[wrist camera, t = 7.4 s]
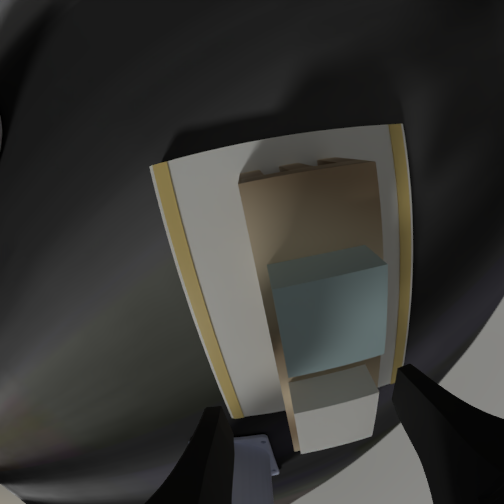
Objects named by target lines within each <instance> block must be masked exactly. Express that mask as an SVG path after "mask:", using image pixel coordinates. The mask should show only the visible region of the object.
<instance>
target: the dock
mask: <svg viewBox="0 0 504 504" xmlns="http://www.w3.org/2000/svg"><path fill="white" fill-rule="evenodd" d="M333 157H338V158H349V159H358V160H367V161H375V162H376V168H377V176H378V185H379V195H380V206H381V219H382V235H383V261H384V262H386V263H387V264H388V298H387V324H386V339H385V352H384V354H382V355H381V359H380V369H379V379H378V387H381V386H384V385H387V384H393V383H395V380H396V374H397V368H399V367H402V366H403V365H404V359H405V352H406V345H407V337H408V329H409V319H410V308H411V294H412V274H413V218H412V198H411V185H410V174H409V164H408V156H407V148H406V141H405V134H404V128H403V124H388V125H372V126H359V127H349V128H339V129H330V130H321V131H314V132H306V133H299V134H293V135H286V136H280V137H274V138H268V139H263V140H257V141H252V142H247V143H242V144H237V145H232V146H227V147H223V148H218V149H214V150H209V151H205V152H201V153H197V154H193V155H189V156H185V157H181V158H177V159H174V160H170V161H166V162H163V163H159V164H156V165H152V166H149V167H150V171H151V176H152V180H153V184H154V188H155V192H156V196H157V200H158V204H159V208H160V211H161V215H162V219H163V223H164V226H165V230H166V233H167V237H168V240H169V244H170V247H171V251H172V254H173V257H174V261H175V264H176V267H177V271H178V274H179V277H180V280H181V283H182V286H183V290H184V293H185V296H186V299H187V302H188V305H189V308H190V311H191V314H192V316H193V319H194V322H195V325H196V328H197V331H198V334H199V336H200V339H201V342H202V345H203V347H204V350H205V353H206V355H207V358H208V361H209V363H210V366H211V368H212V371H213V374H214V376H215V379H216V381H217V384H218V386H219V389H220V391H221V394H222V396H223V398H224V401H225V403H226V406H227V408H228V410H229V413H230V415H231V417H232V418H234V419H237V418H244V417H246V416H253V415H260V414H267V413H273V412H279V411H285V410H286V409H285V404H284V399H283V395H282V390H281V385H280V381H279V376H278V371H277V366H276V362H275V357H274V352H273V347H272V343H271V338H270V333H269V328H268V324H267V319H266V314H265V310H264V305H263V300H262V295H261V291H260V286H259V281H258V277H257V272H256V267H255V262H254V258H253V253H252V248H251V243H250V239H249V234H248V229H247V225H246V220H245V215H244V210H243V206H242V201H241V196H240V192H239V187H238V181H239V175H240V173H245V172H250V171H255V170H260V171H261V172H262V173H263V174H264V175H266V174H272V173H277V172H280V170H279V166H282V165H288V164H294V163H302V164H306V165H311V166H318V164H317V160H319V159H326V158H333ZM378 387H377V388H378Z"/></svg>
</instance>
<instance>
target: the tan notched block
mask: <svg viewBox="0 0 504 504" xmlns="http://www.w3.org/2000/svg"><path fill="white" fill-rule="evenodd" d="M317 164H318V166H311V165H306V164H302V163H294V164H288V165H282V166H279V170H280V172H277V173H272V174H266V175H264V174H263V173H262V172H261V171H260V170H255V171H250V172H245V173H240V175H239V181H238V187H239V192H240V196H241V201H242V206H243V210H244V215H245V220H246V225H247V229H248V234H249V239H250V243H251V248H252V253H253V258H254V262H255V267H256V272H257V277H258V281H259V286H260V291H261V295H262V300H263V305H264V310H265V314H266V319H267V324H268V328H269V333H270V338H271V343H272V347H273V352H274V357H275V362H276V366H277V371H278V376H279V381H280V385H281V390H282V395H283V399H284V404H285V409H286V414H287V418H288V423H289V428H290V433H291V437H292V442H293V447H294V452H295V451H300V445H299V440H298V434H297V428H296V423H295V417H294V412H293V406H292V400H291V395H290V389H289V384H288V383H289V382H294V381H299V380H304V379H308V378H313V377H317V376H322V375H326V374H330V373H334V372H338V371H342V370H346V369H350V368H353V367H357V366H360V365H364V364H365V365H366V367H367V369H368V371H369V373H370V375H371V377H372V379H373V381H374V383H375V385H376V387H378V379H379V369H380V359H381V355H379V356H376V357H372V358H369V359H366V360H362V361H359V362H355V363H351V364H347V365H344V366H340V367H336V368H332V369H328V370H323V371H319V372H315V373H310V374H306V375H301V376H296V377H291V378H288V373H287V368H286V363H285V357H284V352H283V347H282V342H281V336H280V331H279V326H278V320H277V315H276V310H275V304H274V299H273V294H272V289H271V284H270V278H269V273H268V268H267V265H269V264H274V263H279V262H284V261H289V260H294V259H299V258H303V257H308V256H313V255H318V254H323V253H328V252H333V251H338V250H342V249H347V248H352V247H357V246H361V245H366V246H367V247H368V248H369V249H371V250H372V251H373V252H374V253H375V254H376V255H378V256H379V257H380V258H381V259H382V260H383V235H382V219H381V206H380V195H379V185H378V176H377V168H376V162H375V161H367V160H358V159H349V158H338V157H333V158H326V159H319V160H317Z"/></svg>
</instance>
